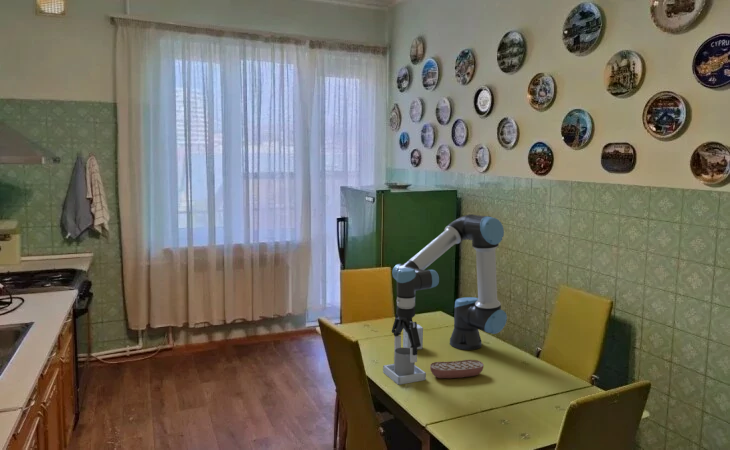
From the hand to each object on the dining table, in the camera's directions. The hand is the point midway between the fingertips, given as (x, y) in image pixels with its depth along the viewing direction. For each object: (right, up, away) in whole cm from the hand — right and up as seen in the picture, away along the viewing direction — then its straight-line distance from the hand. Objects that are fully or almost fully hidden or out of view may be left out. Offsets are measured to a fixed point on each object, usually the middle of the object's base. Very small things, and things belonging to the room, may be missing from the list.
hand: (405, 356), depth 226 cm
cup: (-1, -8, +1) cm, 8 cm away
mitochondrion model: (+22, -9, +2) cm, 23 cm away
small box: (+6, -4, +34) cm, 35 cm away
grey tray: (-1, -8, +1) cm, 8 cm away
